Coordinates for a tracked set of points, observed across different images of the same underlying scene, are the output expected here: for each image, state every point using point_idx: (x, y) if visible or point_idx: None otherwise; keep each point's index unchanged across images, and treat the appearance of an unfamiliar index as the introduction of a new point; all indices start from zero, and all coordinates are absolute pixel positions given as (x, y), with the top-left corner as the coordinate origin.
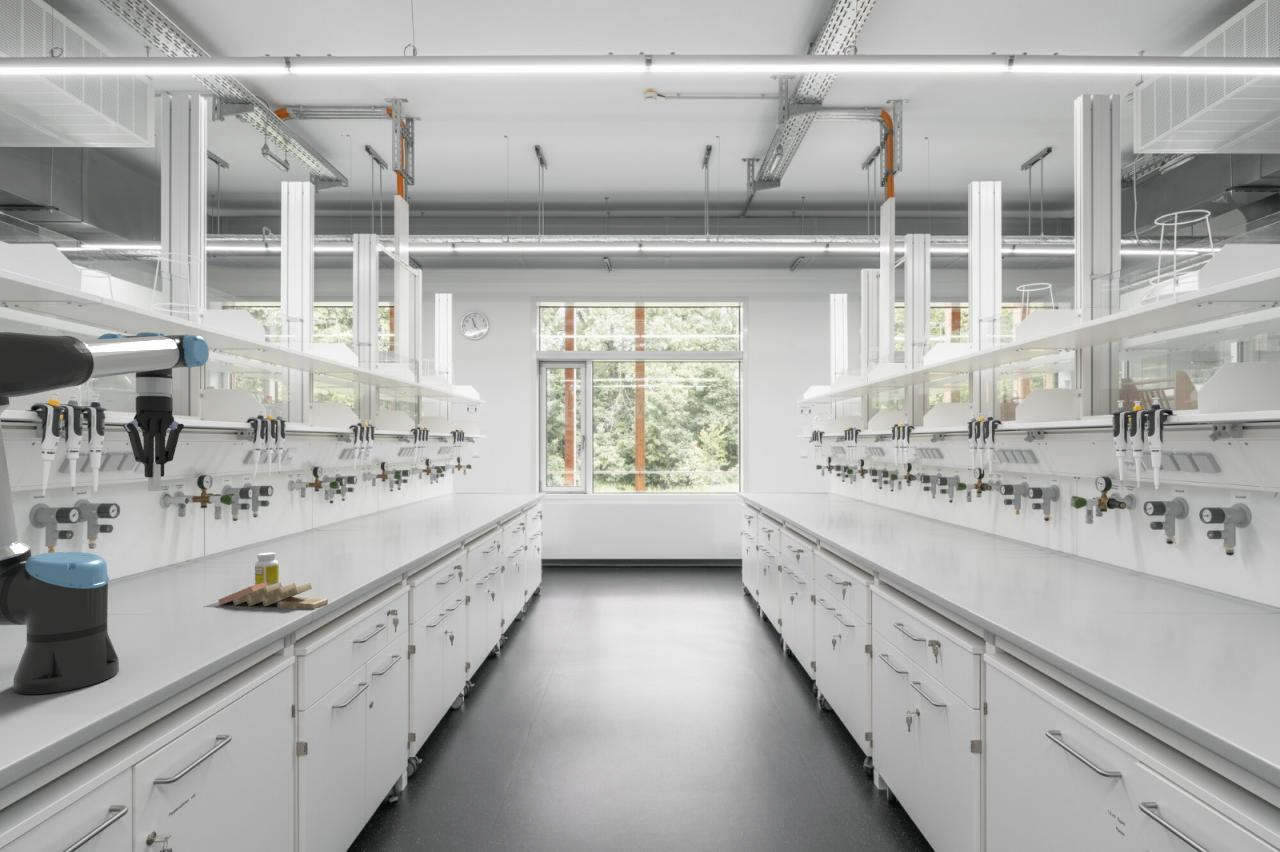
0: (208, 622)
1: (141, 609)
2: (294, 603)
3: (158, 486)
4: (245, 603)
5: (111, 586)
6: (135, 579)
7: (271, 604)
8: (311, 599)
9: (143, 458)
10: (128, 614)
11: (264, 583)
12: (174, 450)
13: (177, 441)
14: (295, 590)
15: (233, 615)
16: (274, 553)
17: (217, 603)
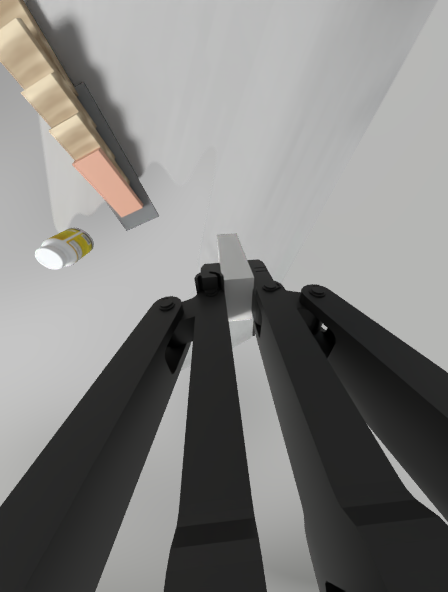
0: (178, 113)
1: (201, 265)
2: (44, 43)
3: (224, 238)
4: None
5: (187, 356)
6: None
7: None
8: None
9: (319, 294)
10: (216, 254)
11: (76, 162)
12: (123, 350)
13: (47, 444)
14: (22, 23)
15: (142, 124)
16: (36, 250)
17: (142, 218)
